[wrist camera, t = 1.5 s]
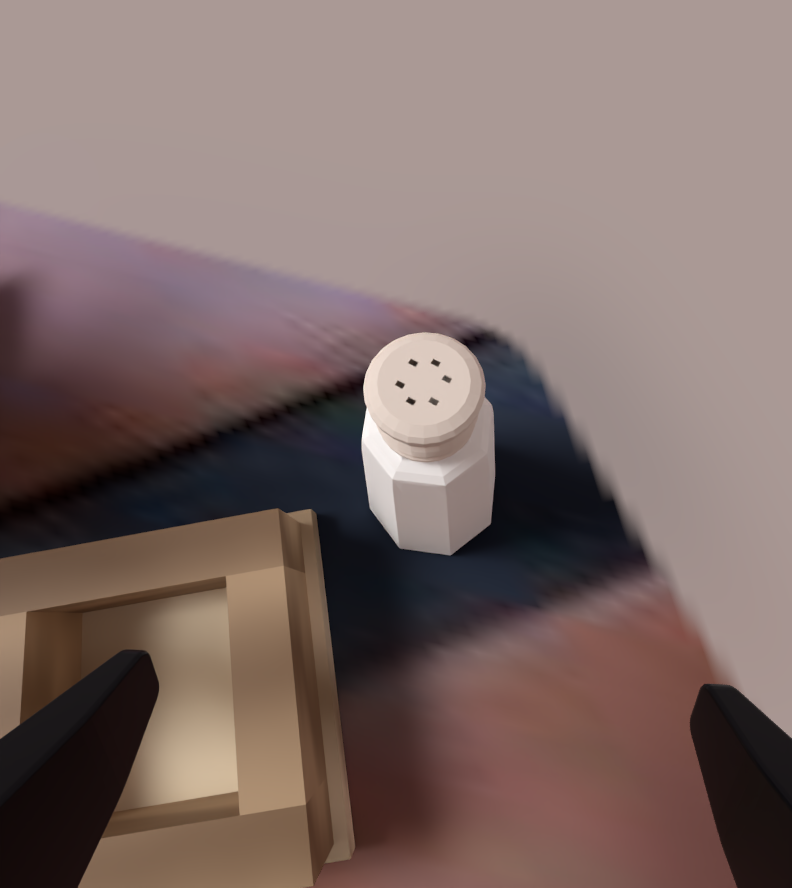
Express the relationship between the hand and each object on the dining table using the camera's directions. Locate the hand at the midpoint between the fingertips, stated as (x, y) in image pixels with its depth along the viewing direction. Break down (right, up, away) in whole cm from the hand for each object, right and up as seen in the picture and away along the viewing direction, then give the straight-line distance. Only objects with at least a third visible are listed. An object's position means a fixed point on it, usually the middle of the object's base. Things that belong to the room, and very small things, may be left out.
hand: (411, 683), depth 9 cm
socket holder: (-9, -6, +12) cm, 16 cm away
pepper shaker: (+1, +2, +14) cm, 14 cm away
